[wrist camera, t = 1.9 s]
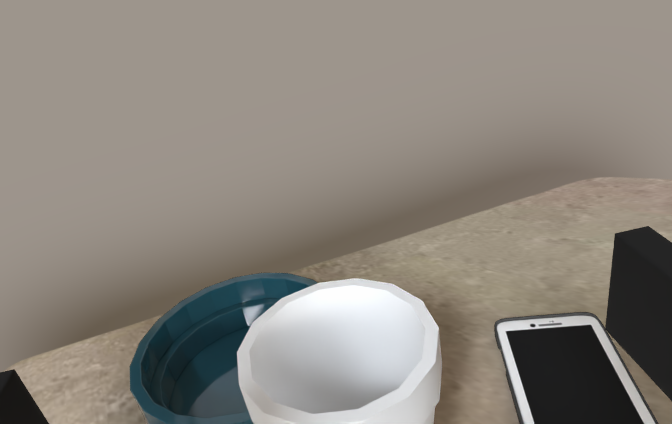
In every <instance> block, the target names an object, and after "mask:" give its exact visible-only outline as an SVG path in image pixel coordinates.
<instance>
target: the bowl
mask: <svg viewBox="0 0 672 424" xmlns="http://www.w3.org/2000/svg"><path fill="white" fill-rule="evenodd" d="M314 284H317V282H316V281H314V280H312V279H309V278H305V277H301V276H297V275H293V274H289V273H258V274H252V275H246V276H240V277H235V278H232V279H229V280H226V281H223V282H220V283H217V284H214V285H212V286H209V287H207V288H204V289H203V290H201V291H199V292H197V293H195V294H193V295H191V296H190V297H188V298H186V299H184V300H182V301H181V302H179V303H178V304H177V305H176V306H174V307H173V308H172V309H171V310H169V311H168V312H167V313H166V314H164V315H163V316H162V317H161V318H159V319H158V321H156V323H155V324H154V325H153V326H152V328H151V329H150V330H149V331H148V332H147V334H146V335H145V336H144V337H143V339H142V340H141V341H140V343H139V345H138V348H137V350H136V352H135V355H134V357H133V360H132V362H131V365H130V390H131V393H132V395H133V397H134V399H135V401H136V403H137V405H138V407H139V409H140V411H141V412H142V415H143V417H144V419H145V421H146V423H147V424H254V423H253V422H252V420H251V417H250V414H249V411H248V409H247V406H246V403H245V400H244V397H243V395H242V392H241V389H240V386H239V377H238V362H237V351H238V349H239V347H240V345H241V344H242V342H243V340H244V338H245V336H246V334H247V332H248V330H249V329H250V327H251V325H252V323H253V322H254V321H255V320H256V319H257V318H258V317H260V316H261V315H262V314H263V313H264V312H266V311H267V310H268V309H269V308H270V307H272V306H273V305H274V304H275V303H277V302H278V301H279V300H280V299H281V298H283V297H286V296H288V295H291V294H293V293H295V292H298V291H300V290H302V289H305V288H307V287H310V286H312V285H314Z"/></svg>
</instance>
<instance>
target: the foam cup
mask: <svg viewBox="0 0 672 424" xmlns="http://www.w3.org/2000/svg"><path fill="white" fill-rule="evenodd" d="M237 362H238V377H239V386H240V389H241V392H242V395H243V397H244V400H245V403H246V406H247V409H248V411H249V414H250V417H251V420H252V422H253V423H254V424H434V412H435V406H436V405H437V404H438V402H439V401H440V388H441V374H442V358H441V347H440V336H439V327H438V326H437V324H436V322H435V321H434V319H433V318H432V316H431V314H430V313H429V311H428V309H427V308H426V306H425V304H424V303H423V301H422V300H420V299H419V298H417V297H415V296H413V295H411V294H410V293H408V292H406V291H404V290H403V289H401V288H399V287H397V286H396V285H394V284H391V283H384V282H378V281H371V280H365V279H358V278H353V279H346V280H338V281H330V282H323V283H317V284H314V285H312V286H310V287H307V288H305V289H302V290H300V291H298V292H295V293H293V294H291V295H288V296H286V297H283V298H281V299H280V300H279V301H278V302H277V303H275V304H274V305H273V306H272V307H270V308H269V309H268V310H267V311H266V312H264V313H263V314H262V315H261V316H260V317H258V318H257V319H256V320H255V321H254V322H253V323H252V325H251V327H250V329H249V330H248V332H247V334H246V336H245V338H244V340H243V342H242V344H241V345H240V347H239V349H238V351H237Z"/></svg>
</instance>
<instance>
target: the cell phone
mask: <svg viewBox="0 0 672 424" xmlns="http://www.w3.org/2000/svg"><path fill="white" fill-rule="evenodd" d="M494 326H495V337H496V341H497V345H498V348H499V349H500V350H501V354H502V357H503V361H504V364H505V368H506V377H507V380H508V384H509V387H510V391H511V394H512V398H513V401H514V405H515V408H516V412H517V415H518V419H519V422H520V424H658V422H657V420H656V418H655V417H654V415H653V413H652V411H651V410H650V408H649V406H648V404H647V402H646V401H645V399H644V397H643V395H642V393H641V392H640V390H639V388H638V386H637V385H636V383H635V381H634V379H633V377H632V376H631V374H630V372H629V370H628V369H627V367H626V365H625V363H624V361H623V360H622V358H621V356H620V354H619V352H618V351H617V349H616V347H615V345H614V344H613V342H612V340H611V338H610V336H609V335H608V333H607V331H606V329H605V327H604V326H603V324H602V323H601V321H600V320H599V319H598V317H597V316H596V315H594V314H592V313H588V312H576V313H563V314H551V315H538V316H526V317H513V318H504V319H500V320H498V321H496V322H495V325H494ZM623 365H624V366H623ZM624 367H625V368H624Z"/></svg>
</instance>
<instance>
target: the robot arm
mask: <svg viewBox="0 0 672 424" xmlns="http://www.w3.org/2000/svg"><path fill="white" fill-rule="evenodd" d="M605 329H606V330H607V331H608V333H609V334H610V335H611V336H612V337H613V338H614V339H615V340H616V341H617V342H618V343H619V345H620V346H621V347H622V348H623V349H624V350H625V351H626V352H627V353H628V354H629V355H630V356H631V358H632V359H633V360H634V361H635V362H636V363H637V364H638V365H639V366H640V367H641V368H642V369H643V371H644V372H645V373H646V374H647V375H648V376H649V377H650V378H651V379H652V380H653V381H654V382H655V384H656V385H657V386H658V387H659V388H660V389H661V390H662V391H663V392H664V393H665V394H666V395H667V397H668V398H669V399H670V400H671V401H672V243H671V242H670V241H669V240H667V239H666V238H664V237H663V236H662V235H660V234H659V233H657V232H656V231H654V230H653V229H652V228H650V227H649V226H646V227H642V228H638V229H633V230H629V231H624V232H620V233H615V239H614V249H613V259H612V269H611V279H610V288H609V298H608V308H607V318H606V328H605ZM0 424H49V423H48V422H47V420H46V418H45V417H44V415H43V414H42V412H41V411H40V409H39V407H38V406H37V404H36V403H35V401H34V400H33V398H32V396H31V395H30V393H29V392H28V390H27V389H26V387H25V385H24V384H23V382H22V381H21V379H20V377H19V376H18V374H17V373H16V371H15V370H10V371H5V372H1V373H0Z"/></svg>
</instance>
